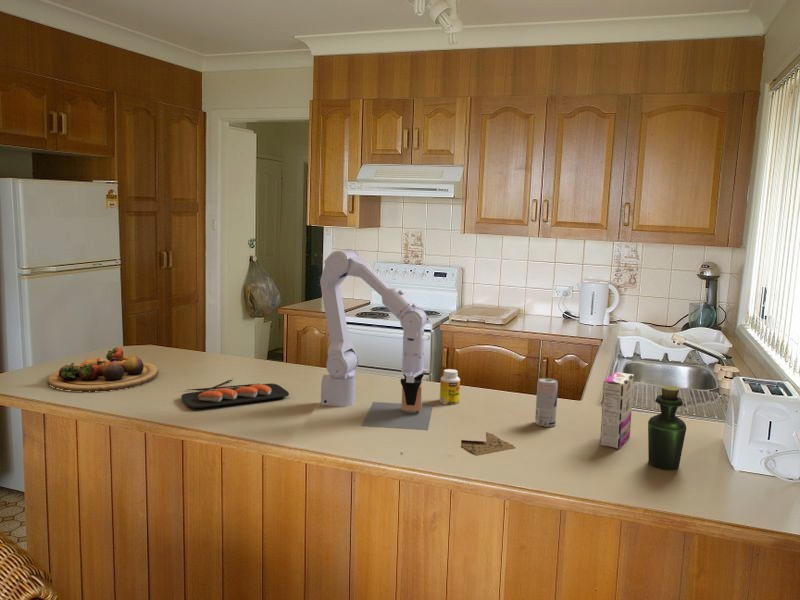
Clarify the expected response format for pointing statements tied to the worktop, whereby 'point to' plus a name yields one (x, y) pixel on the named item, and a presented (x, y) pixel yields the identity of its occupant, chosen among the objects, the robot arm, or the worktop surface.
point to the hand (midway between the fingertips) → (411, 401)
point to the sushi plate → (233, 394)
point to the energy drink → (546, 402)
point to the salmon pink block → (417, 404)
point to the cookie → (486, 445)
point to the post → (410, 412)
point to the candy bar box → (616, 409)
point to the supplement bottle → (450, 387)
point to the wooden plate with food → (104, 373)
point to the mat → (397, 417)
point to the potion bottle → (666, 431)
